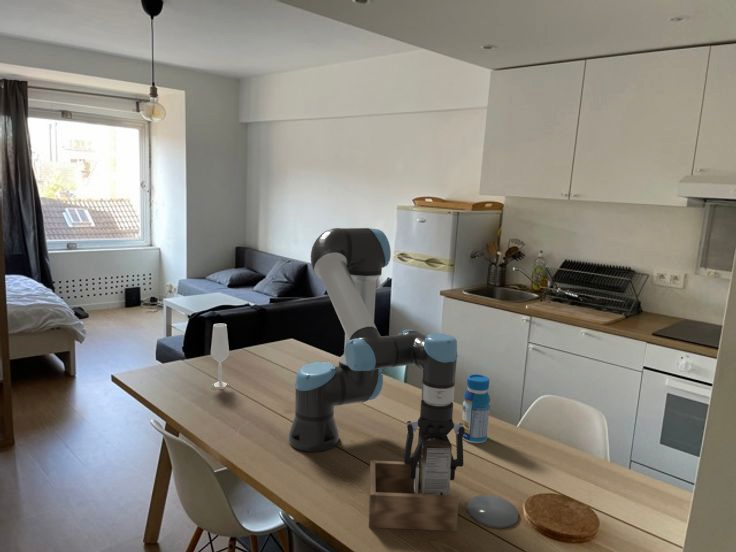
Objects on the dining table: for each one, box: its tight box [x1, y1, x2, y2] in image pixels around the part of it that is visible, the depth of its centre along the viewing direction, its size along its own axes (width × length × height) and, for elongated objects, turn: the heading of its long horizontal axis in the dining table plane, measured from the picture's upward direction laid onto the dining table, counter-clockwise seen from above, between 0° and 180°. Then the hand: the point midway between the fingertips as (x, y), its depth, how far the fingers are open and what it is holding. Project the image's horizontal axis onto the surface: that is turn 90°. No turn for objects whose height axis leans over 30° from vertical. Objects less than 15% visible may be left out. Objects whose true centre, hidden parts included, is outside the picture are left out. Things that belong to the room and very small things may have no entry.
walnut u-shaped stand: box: [368, 459, 460, 532], centre depth 126 cm, size 20×15×8 cm
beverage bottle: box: [461, 373, 491, 444], centre depth 164 cm, size 8×8×20 cm
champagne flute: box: [210, 323, 230, 387], centre depth 197 cm, size 7×7×24 cm
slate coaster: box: [466, 494, 519, 529], centre depth 127 cm, size 12×12×1 cm
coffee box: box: [417, 427, 453, 495], centre depth 125 cm, size 9×6×16 cm
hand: (431, 490), depth 126 cm, fingers closed on coffee box, 7 cm apart
